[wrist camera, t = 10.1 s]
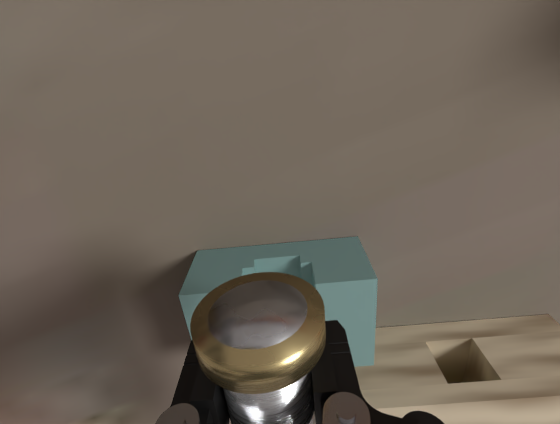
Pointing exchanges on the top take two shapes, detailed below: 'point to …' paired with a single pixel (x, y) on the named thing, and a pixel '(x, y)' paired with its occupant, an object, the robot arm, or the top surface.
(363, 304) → the v block
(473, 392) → the beam
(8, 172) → the top surface
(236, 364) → the axle
